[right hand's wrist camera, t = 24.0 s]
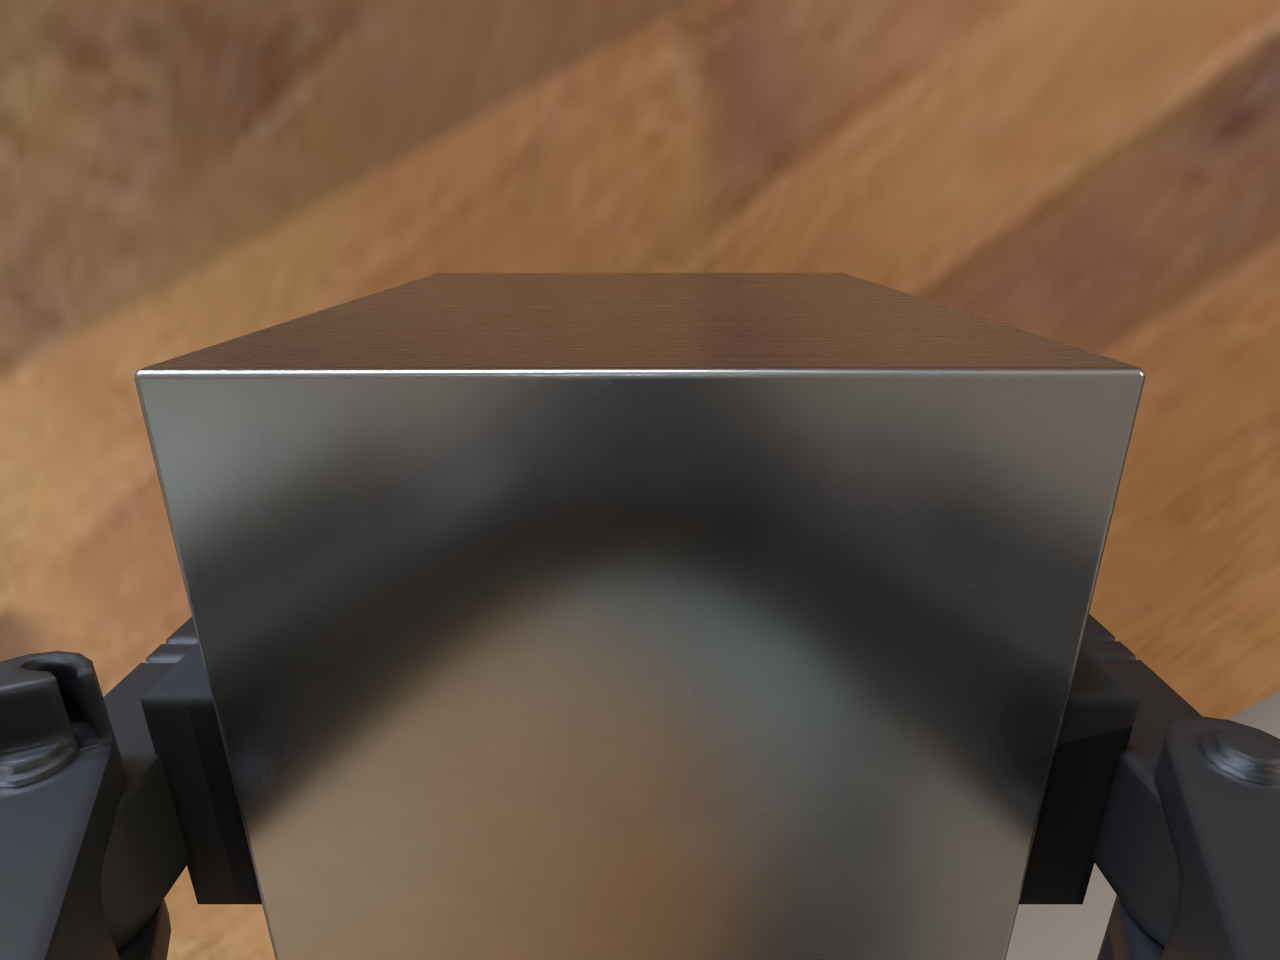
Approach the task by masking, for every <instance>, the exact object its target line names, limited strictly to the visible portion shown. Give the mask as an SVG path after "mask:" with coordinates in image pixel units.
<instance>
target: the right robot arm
mask: <svg viewBox="0 0 1280 960" xmlns="http://www.w3.org/2000/svg"><path fill="white" fill-rule="evenodd" d="M1094 862H1095V864H1096V865H1097V866H1098V868H1099V869H1100V871H1101V872H1102V874H1103V875H1104V877H1105V878H1106V879H1107V881H1108V882H1109V884H1110V885H1111V887H1112V888H1113V890H1114V891H1115V892H1116V894H1117V896H1116V900H1115V903H1114V906H1113V909H1112V913H1111V916H1110V919H1109V923H1108V926H1107V929H1106V932H1105V936H1104V939H1103V942H1102V946H1101V949H1100V952H1099V955H1098V959H1097V960H1280V739H1278V738H1276V737H1274V736H1272V735H1270V734H1268V733H1266V732H1264V731H1262V730H1259V729H1256V728H1253V727H1249V726H1246V725H1243V724H1240V723H1236V722H1233V721H1230V720H1224V719H1216V718H1208V717H1202V716H1201V715H1200V714H1199V713H1198V712H1197V711H1196V710H1195V709H1194V708H1193V707H1191V706H1190V705H1189V704H1188V703H1187V702H1186V701H1185V700H1184V699H1183V698H1182V697H1180V696H1179V695H1178V694H1177V693H1176V692H1175V691H1174V690H1173V689H1172V688H1171V687H1169V686H1168V685H1167V684H1166V683H1165V682H1164V681H1163V680H1162V679H1161V678H1159V677H1158V676H1157V675H1156V674H1155V673H1154V672H1153V671H1152V670H1151V669H1150V668H1148V667H1147V666H1146V665H1145V664H1144V663H1143V662H1142V661H1141V660H1136V659H1135V655H1134V654H1133V653H1132V652H1131V651H1130V650H1129V649H1127V648H1126V647H1125V646H1124V645H1123V644H1122V643H1121V642H1116V641H1115V637H1114V636H1113V635H1112V634H1111V633H1110V632H1109V631H1108V630H1107V629H1105V628H1104V627H1103V626H1102V625H1101V624H1100V623H1099V622H1098V621H1097V620H1095V619H1094V618H1093V617H1092V616H1091V615H1089V614H1088V618H1087V622H1086V626H1085V630H1084V634H1083V638H1082V643H1081V647H1080V651H1079V655H1078V659H1077V663H1076V668H1075V672H1074V676H1073V680H1072V684H1071V688H1070V693H1069V697H1068V701H1067V705H1066V709H1065V713H1064V718H1063V722H1062V726H1061V730H1060V734H1059V738H1058V743H1057V747H1056V751H1055V755H1054V759H1053V763H1052V768H1051V772H1050V776H1049V780H1048V784H1047V788H1046V793H1045V797H1044V801H1043V805H1042V809H1041V813H1040V818H1039V822H1038V826H1037V830H1036V834H1035V838H1034V843H1033V847H1032V851H1031V855H1030V859H1029V863H1028V868H1027V872H1026V876H1025V880H1024V884H1023V888H1022V893H1021V897H1020V901H1019V904H1083V901H1084V897H1085V894H1086V890H1087V887H1088V883H1089V880H1090V876H1091V873H1092V869H1093V865H1094ZM186 865H187V867H188V870H189V874H190V877H191V881H192V884H193V888H194V892H195V895H196V899H197V902H198V904H262V901H261V897H260V893H259V889H258V885H257V880H256V876H255V872H254V868H253V864H252V860H251V856H250V852H249V848H248V843H247V839H246V835H245V831H244V827H243V823H242V819H241V815H240V811H239V806H238V802H237V798H236V794H235V790H234V786H233V782H232V778H231V774H230V769H229V765H228V761H227V757H226V753H225V749H224V745H223V741H222V737H221V732H220V728H219V724H218V720H217V716H216V712H215V708H214V704H213V700H212V695H211V691H210V687H209V683H208V679H207V675H206V671H205V667H204V663H203V658H202V654H201V650H200V646H199V642H198V638H197V634H196V630H195V626H194V621H193V617H191V618H190V619H189V620H187V621H186V622H185V623H184V624H183V625H182V626H181V627H180V628H179V629H178V630H177V631H175V632H174V633H173V634H172V635H171V636H170V637H169V638H168V639H167V640H166V644H161V645H160V646H159V647H158V648H157V649H156V650H155V651H154V652H152V653H151V654H150V655H149V656H148V657H147V658H146V663H140V664H139V665H138V666H137V667H136V668H135V669H134V670H133V671H132V672H131V673H130V674H128V675H127V676H126V677H125V678H124V679H123V680H122V681H121V682H120V683H119V684H117V685H116V686H115V687H114V688H113V689H112V690H111V691H110V692H109V693H108V694H107V695H105V696H104V697H103V696H102V692H101V689H100V686H99V682H98V679H97V676H96V673H95V669H94V666H93V663H92V661H91V660H90V659H88V658H86V657H85V656H83V655H82V654H80V653H72V652H62V651H54V652H45V653H36V654H28V655H25V656H21V657H17V658H13V659H9V660H6V661H2V662H0V960H167V953H168V947H169V940H170V934H171V926H170V919H169V913H168V909H167V906H166V903H165V900H164V897H165V896H166V895H167V893H168V892H169V890H170V889H171V887H172V886H173V884H174V883H175V881H176V880H177V879H178V877H179V876H180V874H181V873H182V871H183V870H184V868H185V867H186Z"/></svg>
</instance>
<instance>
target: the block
mask: <svg viewBox="0 0 1280 960" xmlns="http://www.w3.org/2000/svg"><path fill="white" fill-rule="evenodd" d="M1144 380H1145V374H1144V371H1143V370H1142V369H1140V368H1138V367H1136V366H1133V365H1129V364H1126V363H1123V362H1120V361H1117V360H1114V359H1111V358H1108V357H1104V356H1101V355H1098V354H1095V353H1092V352H1089V351H1086V350H1083V349H1079V348H1076V347H1073V346H1070V345H1067V344H1064V343H1061V342H1058V341H1054V340H1051V339H1048V338H1045V337H1042V336H1039V335H1036V334H1033V333H1029V332H1026V331H1023V330H1020V329H1017V328H1014V327H1011V326H1008V325H1004V324H1001V323H998V322H995V321H992V320H989V319H986V318H983V317H979V316H976V315H973V314H970V313H967V312H964V311H961V310H958V309H954V308H951V307H948V306H945V305H942V304H939V303H936V302H932V301H929V300H926V299H923V298H920V297H917V296H914V295H911V294H908V293H904V292H901V291H898V290H895V289H892V288H889V287H886V286H882V285H879V284H876V283H873V282H870V281H867V280H864V279H861V278H857V277H854V276H851V275H848V274H845V273H437V274H434V275H431V276H428V277H425V278H421V279H418V280H415V281H412V282H409V283H406V284H403V285H400V286H397V287H393V288H390V289H387V290H384V291H381V292H378V293H375V294H372V295H369V296H366V297H362V298H359V299H356V300H353V301H350V302H347V303H344V304H341V305H338V306H334V307H331V308H328V309H325V310H322V311H319V312H316V313H313V314H310V315H307V316H303V317H300V318H297V319H294V320H291V321H288V322H285V323H282V324H279V325H275V326H272V327H269V328H266V329H263V330H260V331H257V332H254V333H251V334H248V335H244V336H241V337H238V338H235V339H232V340H229V341H226V342H223V343H220V344H216V345H213V346H210V347H207V348H204V349H201V350H198V351H195V352H192V353H188V354H185V355H182V356H179V357H176V358H173V359H170V360H167V361H164V362H161V363H157V364H154V365H151V366H148V367H145V368H142V369H140V370H138V371H137V372H136V373H135V383H136V387H137V391H138V395H139V399H140V403H141V408H142V412H143V416H144V420H145V424H146V428H147V432H148V436H149V440H150V445H151V449H152V453H153V457H154V461H155V465H156V469H157V473H158V477H159V482H160V486H161V490H162V494H163V498H164V502H165V506H166V510H167V515H168V519H169V523H170V527H171V531H172V535H173V539H174V543H175V547H176V552H177V556H178V560H179V564H180V568H181V572H182V576H183V580H184V584H185V589H186V593H187V597H188V601H189V605H190V609H191V613H192V617H193V621H194V626H195V630H196V634H197V638H198V642H199V646H200V650H201V654H202V658H203V663H204V667H205V671H206V675H207V679H208V683H209V687H210V691H211V695H212V700H213V704H214V708H215V712H216V716H217V720H218V724H219V728H220V732H221V737H222V741H223V745H224V749H225V753H226V757H227V761H228V765H229V769H230V774H231V778H232V782H233V786H234V790H235V794H236V798H237V802H238V806H239V811H240V815H241V819H242V823H243V827H244V831H245V835H246V839H247V843H248V848H249V852H250V856H251V860H252V864H253V868H254V872H255V876H256V880H257V885H258V889H259V893H260V897H261V901H262V905H263V909H264V913H265V917H266V922H267V926H268V930H269V934H270V938H271V942H272V946H273V950H274V954H275V959H276V960H1005V959H1006V955H1007V951H1008V947H1009V943H1010V938H1011V934H1012V930H1013V926H1014V922H1015V918H1016V913H1017V909H1018V905H1019V901H1020V897H1021V893H1022V888H1023V884H1024V880H1025V876H1026V872H1027V868H1028V863H1029V859H1030V855H1031V851H1032V847H1033V843H1034V838H1035V834H1036V830H1037V826H1038V822H1039V818H1040V813H1041V809H1042V805H1043V801H1044V797H1045V793H1046V788H1047V784H1048V780H1049V776H1050V772H1051V768H1052V763H1053V759H1054V755H1055V751H1056V747H1057V743H1058V738H1059V734H1060V730H1061V726H1062V722H1063V718H1064V713H1065V709H1066V705H1067V701H1068V697H1069V693H1070V688H1071V684H1072V680H1073V676H1074V672H1075V668H1076V663H1077V659H1078V655H1079V651H1080V647H1081V643H1082V638H1083V634H1084V630H1085V626H1086V622H1087V618H1088V613H1089V609H1090V605H1091V601H1092V597H1093V593H1094V588H1095V584H1096V580H1097V576H1098V572H1099V567H1100V563H1101V559H1102V555H1103V551H1104V547H1105V542H1106V538H1107V534H1108V530H1109V526H1110V522H1111V517H1112V513H1113V509H1114V505H1115V501H1116V497H1117V492H1118V488H1119V484H1120V480H1121V476H1122V472H1123V467H1124V463H1125V459H1126V455H1127V451H1128V447H1129V442H1130V438H1131V434H1132V430H1133V426H1134V422H1135V417H1136V413H1137V409H1138V405H1139V401H1140V397H1141V392H1142V388H1143V384H1144Z"/></svg>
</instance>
